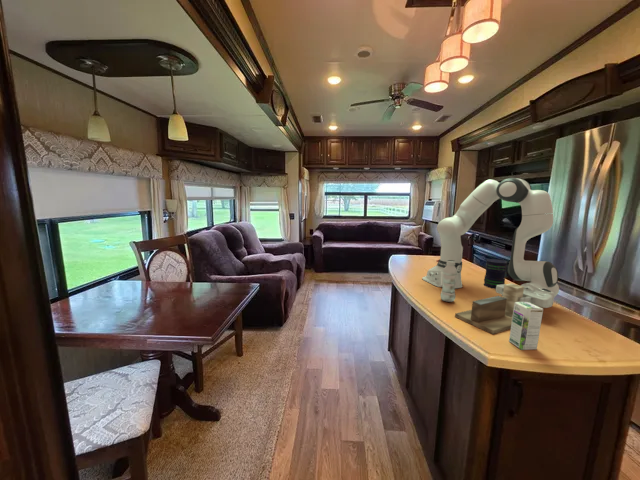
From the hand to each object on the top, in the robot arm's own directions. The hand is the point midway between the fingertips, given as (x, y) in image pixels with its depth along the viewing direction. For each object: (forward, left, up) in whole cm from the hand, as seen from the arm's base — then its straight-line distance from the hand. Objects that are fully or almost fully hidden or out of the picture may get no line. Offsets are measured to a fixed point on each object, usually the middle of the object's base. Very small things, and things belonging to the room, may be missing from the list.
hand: (511, 297), depth 115 cm
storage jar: (-28, +33, -8) cm, 44 cm away
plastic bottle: (-22, -11, -8) cm, 26 cm away
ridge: (0, -14, -8) cm, 16 cm away
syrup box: (+17, -21, -8) cm, 28 cm away
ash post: (0, +1, -8) cm, 8 cm away
